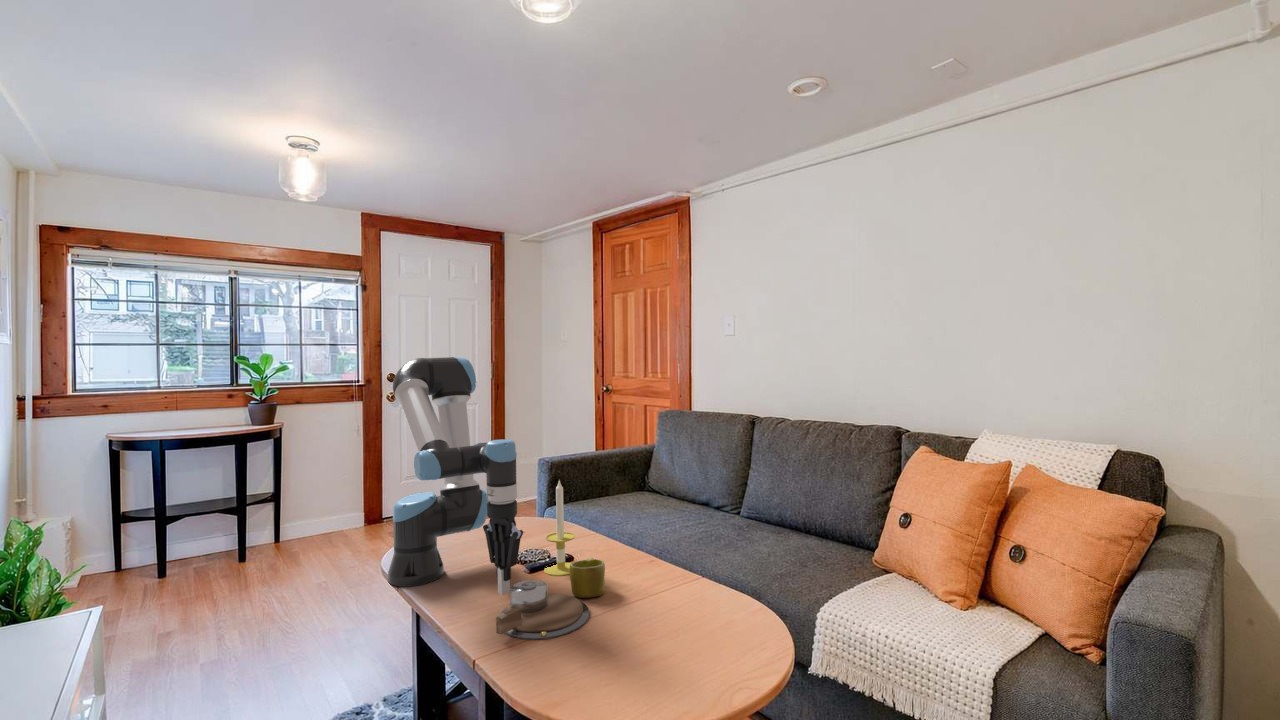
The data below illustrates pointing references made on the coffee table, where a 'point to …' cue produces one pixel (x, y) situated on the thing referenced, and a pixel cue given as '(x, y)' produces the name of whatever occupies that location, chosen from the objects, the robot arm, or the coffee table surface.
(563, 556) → the candle
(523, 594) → the cover
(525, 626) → the platter
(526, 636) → the susan base
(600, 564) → the mug
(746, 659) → the coffee table surface
